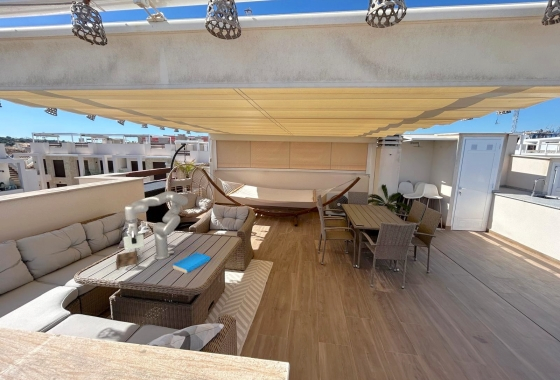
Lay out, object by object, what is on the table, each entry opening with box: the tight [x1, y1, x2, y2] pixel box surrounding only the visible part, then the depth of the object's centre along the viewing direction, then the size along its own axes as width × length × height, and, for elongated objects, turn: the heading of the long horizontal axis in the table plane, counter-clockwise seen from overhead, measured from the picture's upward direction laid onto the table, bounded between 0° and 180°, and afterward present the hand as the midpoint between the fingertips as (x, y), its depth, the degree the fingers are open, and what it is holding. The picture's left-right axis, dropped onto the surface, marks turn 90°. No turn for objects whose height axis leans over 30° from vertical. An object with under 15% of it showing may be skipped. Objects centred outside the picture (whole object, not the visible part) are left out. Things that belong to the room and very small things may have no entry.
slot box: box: [115, 251, 139, 271], centre depth 187 cm, size 14×15×7 cm
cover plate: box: [123, 233, 145, 251], centre depth 177 cm, size 13×2×10 cm, turn 118°
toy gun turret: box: [128, 248, 144, 256], centre depth 202 cm, size 12×13×18 cm
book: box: [172, 251, 211, 274], centre depth 189 cm, size 17×4×25 cm
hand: (134, 242), depth 177 cm, fingers closed on cover plate, 2 cm apart
